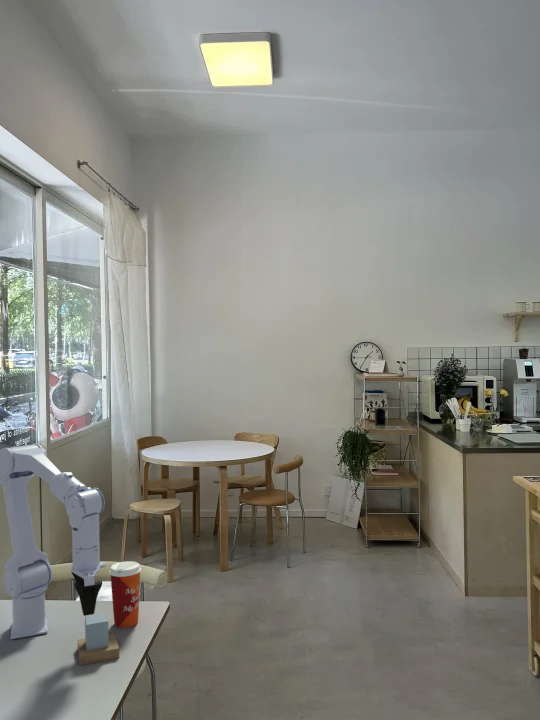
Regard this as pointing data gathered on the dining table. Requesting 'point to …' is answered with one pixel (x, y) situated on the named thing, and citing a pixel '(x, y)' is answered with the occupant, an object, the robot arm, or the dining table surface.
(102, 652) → the base
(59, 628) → the dining table surface
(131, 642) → the dining table surface
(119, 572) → the paper cup
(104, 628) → the block
